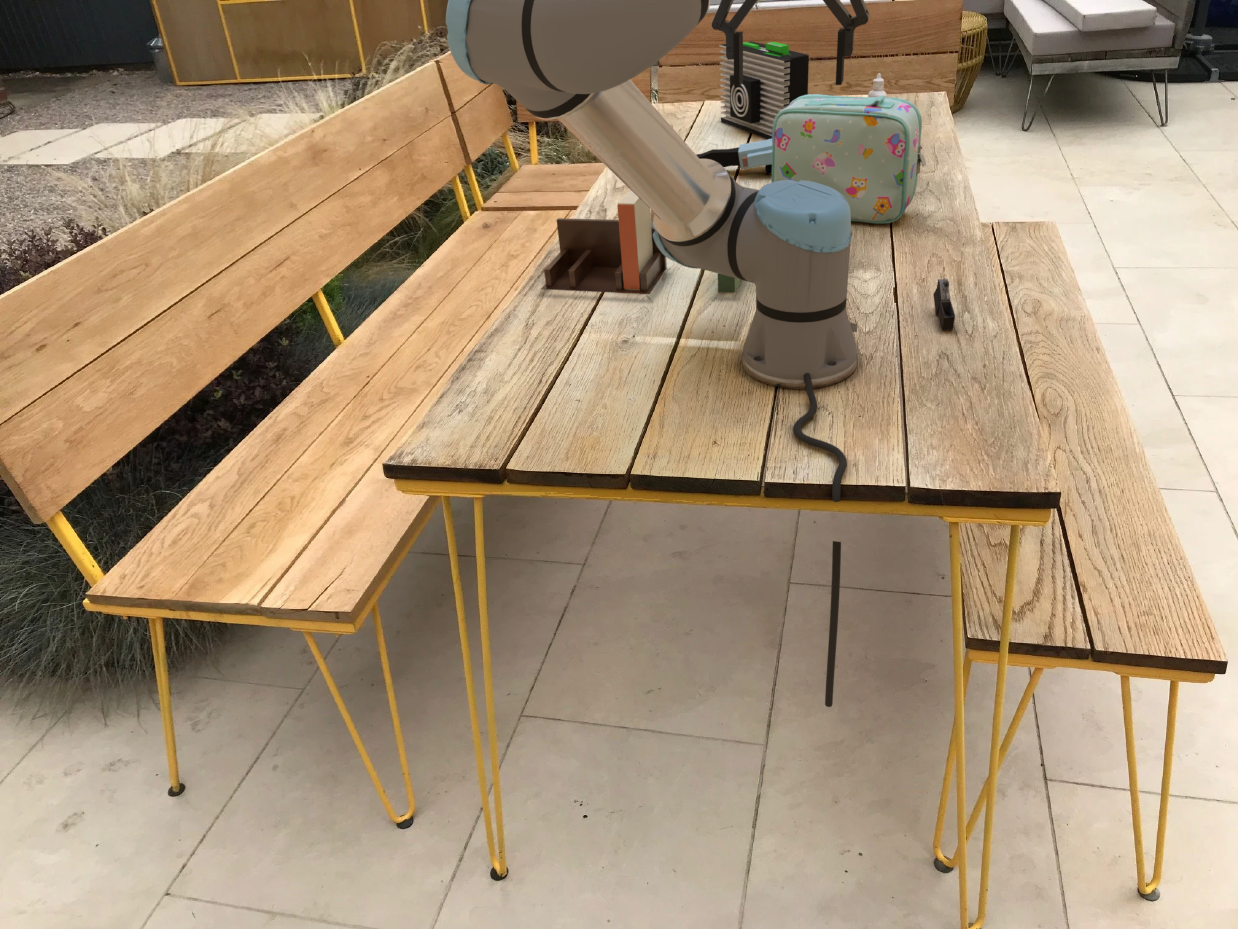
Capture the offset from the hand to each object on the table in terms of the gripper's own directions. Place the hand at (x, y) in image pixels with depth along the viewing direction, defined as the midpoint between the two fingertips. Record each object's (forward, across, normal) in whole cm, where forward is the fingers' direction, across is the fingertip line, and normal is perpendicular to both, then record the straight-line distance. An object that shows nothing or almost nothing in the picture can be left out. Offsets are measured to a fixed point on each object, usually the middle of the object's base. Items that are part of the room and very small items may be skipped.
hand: (788, 83), depth 129 cm
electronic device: (+32, +21, -98) cm, 105 cm away
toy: (+32, +17, -65) cm, 74 cm away
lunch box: (+32, -5, -40) cm, 51 cm away
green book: (+32, +9, -4) cm, 33 cm away
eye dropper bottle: (+32, -6, -101) cm, 106 cm away
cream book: (+30, +24, -3) cm, 39 cm away
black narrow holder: (+32, -24, +4) cm, 40 cm away
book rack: (+32, +30, -3) cm, 44 cm away
